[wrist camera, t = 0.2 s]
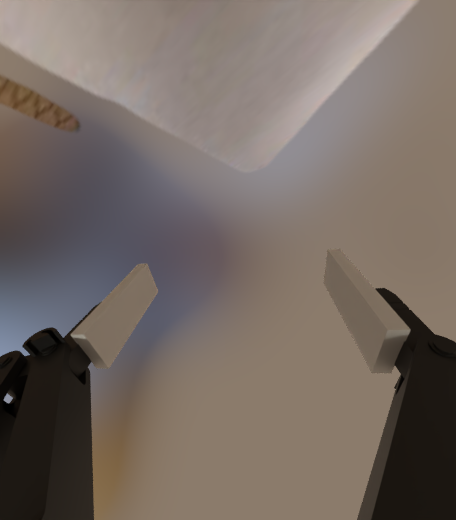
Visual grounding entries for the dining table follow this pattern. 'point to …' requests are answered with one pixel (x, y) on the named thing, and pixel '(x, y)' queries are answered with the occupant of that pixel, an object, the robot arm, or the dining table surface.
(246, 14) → the dining table surface
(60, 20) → the dining table surface
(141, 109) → the dining table surface
